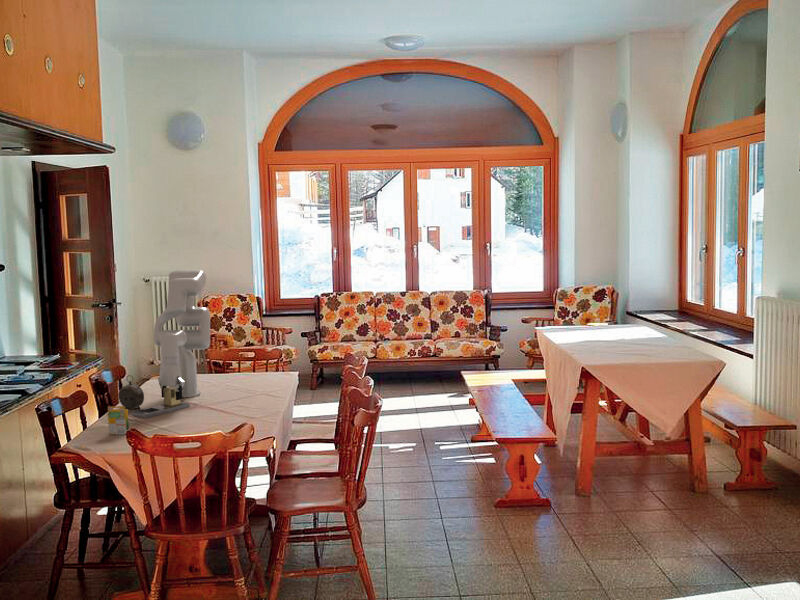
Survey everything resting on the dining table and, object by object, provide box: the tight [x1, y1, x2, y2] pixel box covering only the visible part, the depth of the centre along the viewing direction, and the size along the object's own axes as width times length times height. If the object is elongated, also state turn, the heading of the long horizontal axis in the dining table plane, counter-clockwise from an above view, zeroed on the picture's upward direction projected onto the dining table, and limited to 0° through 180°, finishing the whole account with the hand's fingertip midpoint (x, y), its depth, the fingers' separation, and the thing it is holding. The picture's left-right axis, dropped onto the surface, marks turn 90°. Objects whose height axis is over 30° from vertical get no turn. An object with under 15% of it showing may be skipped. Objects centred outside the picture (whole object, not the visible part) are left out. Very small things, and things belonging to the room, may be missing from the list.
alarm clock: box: [118, 374, 145, 411], centre depth 381 cm, size 11×5×16 cm, turn 71°
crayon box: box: [107, 405, 130, 435], centre depth 344 cm, size 7×3×12 cm, turn 86°
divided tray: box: [131, 401, 191, 419], centre depth 376 cm, size 9×24×2 cm, turn 143°
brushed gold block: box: [163, 386, 181, 407], centre depth 381 cm, size 5×5×9 cm
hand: (172, 398), depth 381 cm, fingers open, 9 cm apart
